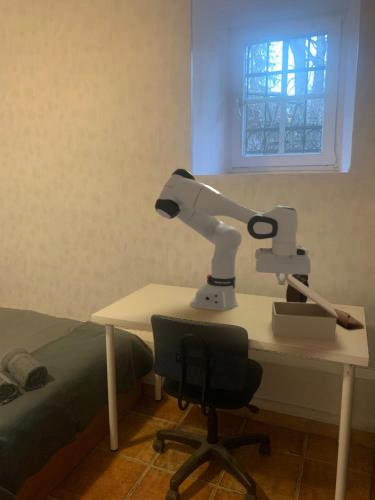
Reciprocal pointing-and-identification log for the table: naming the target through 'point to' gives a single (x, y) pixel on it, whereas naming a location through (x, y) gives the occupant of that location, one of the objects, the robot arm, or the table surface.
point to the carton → (302, 321)
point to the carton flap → (311, 294)
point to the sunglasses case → (347, 320)
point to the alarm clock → (293, 293)
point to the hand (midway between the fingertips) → (281, 284)
